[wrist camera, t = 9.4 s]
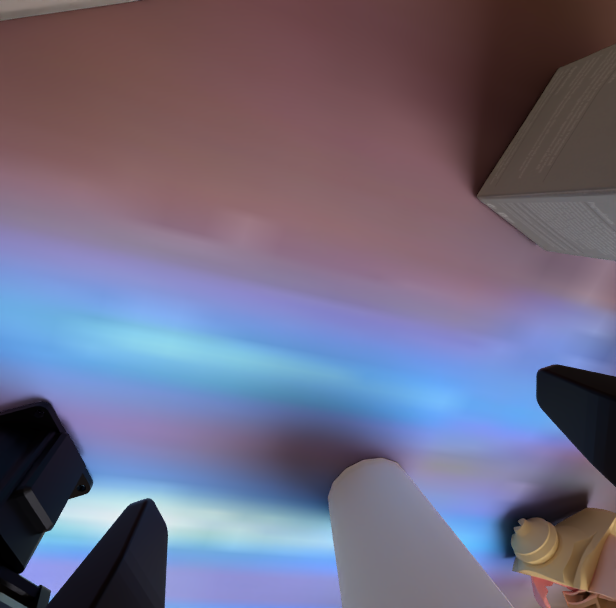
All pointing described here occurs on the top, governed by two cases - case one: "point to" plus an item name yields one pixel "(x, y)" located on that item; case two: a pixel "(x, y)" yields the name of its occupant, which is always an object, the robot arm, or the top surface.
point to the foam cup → (400, 546)
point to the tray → (47, 6)
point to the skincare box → (564, 163)
